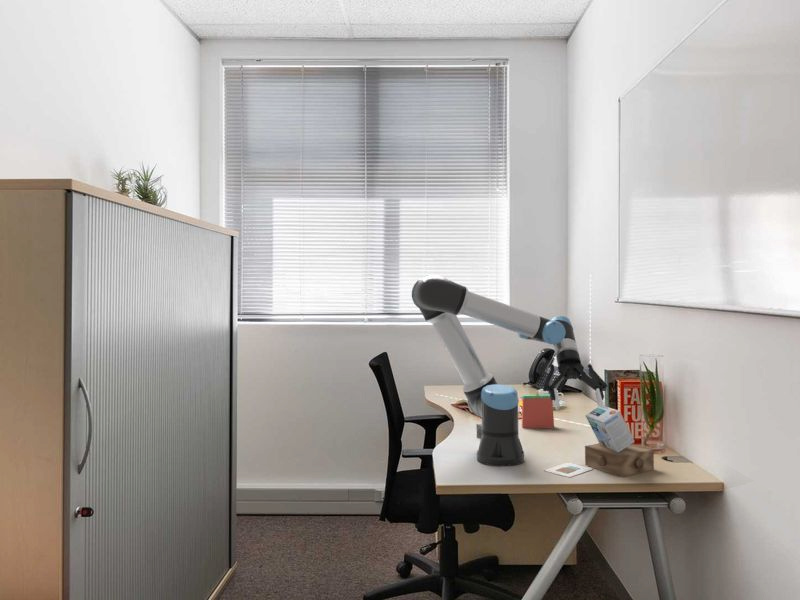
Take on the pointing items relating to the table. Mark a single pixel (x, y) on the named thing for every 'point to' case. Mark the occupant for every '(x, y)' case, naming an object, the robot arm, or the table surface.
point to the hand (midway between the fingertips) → (579, 407)
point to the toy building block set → (537, 411)
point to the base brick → (620, 459)
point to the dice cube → (479, 431)
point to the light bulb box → (610, 428)
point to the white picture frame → (568, 470)
